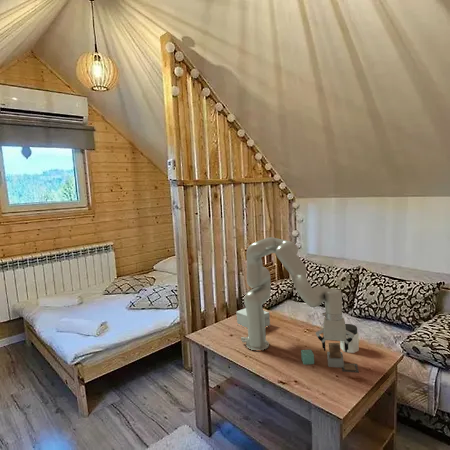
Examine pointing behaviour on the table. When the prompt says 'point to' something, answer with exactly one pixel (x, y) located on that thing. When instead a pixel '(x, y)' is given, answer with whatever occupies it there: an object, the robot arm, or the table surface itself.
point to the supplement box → (243, 318)
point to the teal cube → (307, 357)
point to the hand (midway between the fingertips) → (335, 350)
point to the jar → (354, 344)
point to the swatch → (350, 368)
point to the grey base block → (335, 361)
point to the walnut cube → (334, 350)
